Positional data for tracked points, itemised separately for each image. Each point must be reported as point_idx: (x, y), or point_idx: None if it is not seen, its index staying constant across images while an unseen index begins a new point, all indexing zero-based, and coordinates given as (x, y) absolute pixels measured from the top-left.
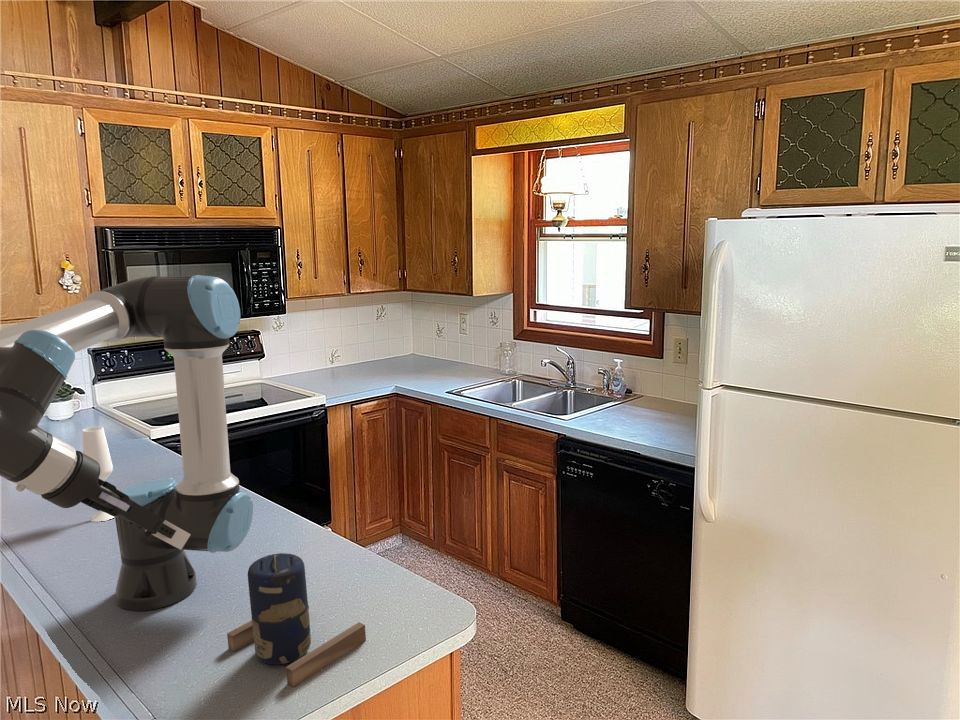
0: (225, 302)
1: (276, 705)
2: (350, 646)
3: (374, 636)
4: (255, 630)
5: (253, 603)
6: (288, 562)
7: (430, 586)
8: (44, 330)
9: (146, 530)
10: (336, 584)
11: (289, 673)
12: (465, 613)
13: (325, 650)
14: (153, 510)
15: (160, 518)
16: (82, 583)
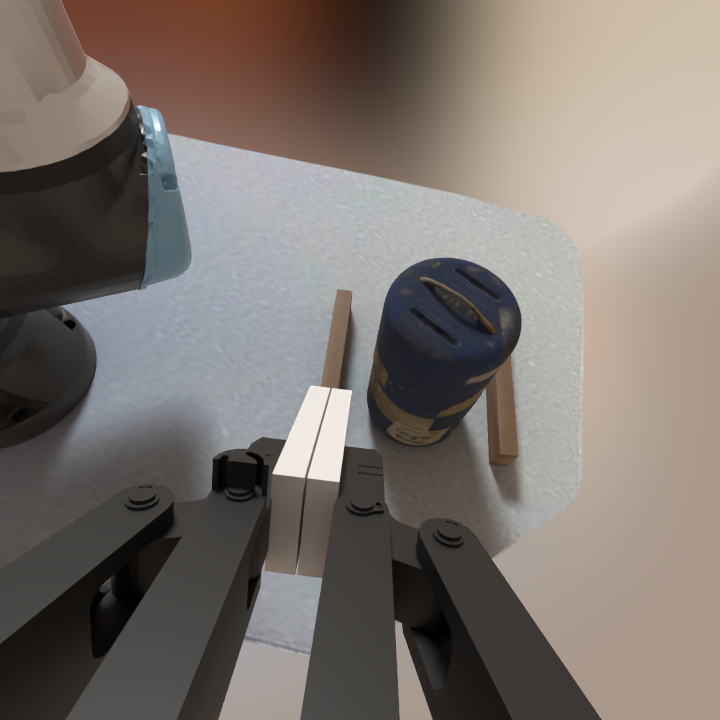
0: None
1: (524, 515)
2: None
3: None
4: (415, 425)
5: (430, 400)
6: (477, 288)
7: (466, 196)
8: None
9: (280, 568)
10: (334, 237)
11: (506, 457)
12: (558, 227)
13: (511, 386)
14: (254, 466)
15: (489, 566)
16: None
